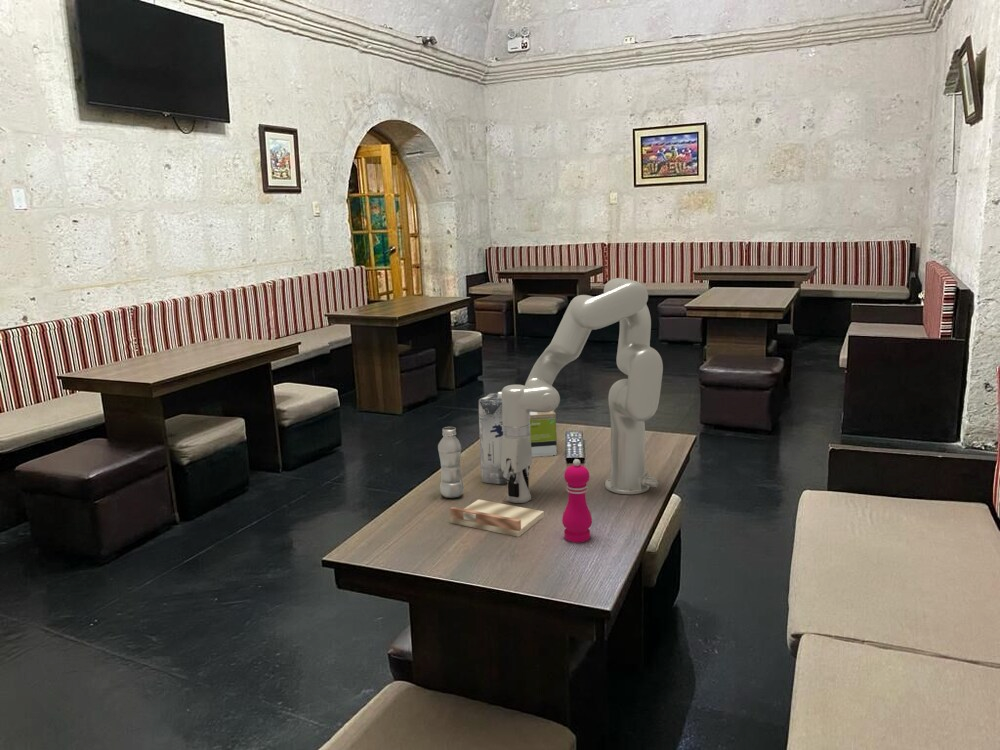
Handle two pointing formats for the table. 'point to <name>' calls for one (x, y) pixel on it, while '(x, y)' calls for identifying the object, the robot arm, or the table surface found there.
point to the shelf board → (496, 517)
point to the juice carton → (491, 438)
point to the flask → (520, 491)
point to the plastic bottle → (450, 464)
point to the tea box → (543, 434)
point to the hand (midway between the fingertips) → (518, 492)
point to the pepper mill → (576, 504)
